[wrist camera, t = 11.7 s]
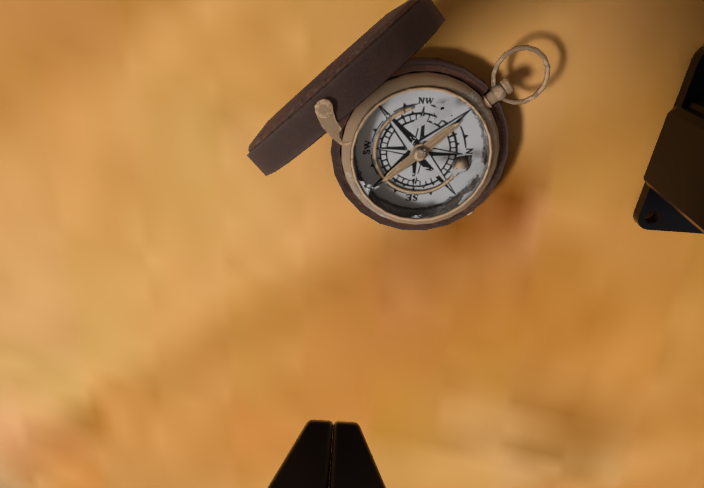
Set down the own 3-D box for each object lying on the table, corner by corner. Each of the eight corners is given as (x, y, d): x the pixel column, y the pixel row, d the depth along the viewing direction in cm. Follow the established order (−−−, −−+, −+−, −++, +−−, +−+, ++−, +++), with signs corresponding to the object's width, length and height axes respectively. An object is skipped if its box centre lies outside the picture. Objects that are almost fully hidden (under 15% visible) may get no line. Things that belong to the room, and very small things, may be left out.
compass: (404, 249, 21) (421, 379, 15) (265, 98, 18) (210, 180, 12) (585, 123, 18) (701, 217, 12) (454, -78, 15) (516, -95, 9)
